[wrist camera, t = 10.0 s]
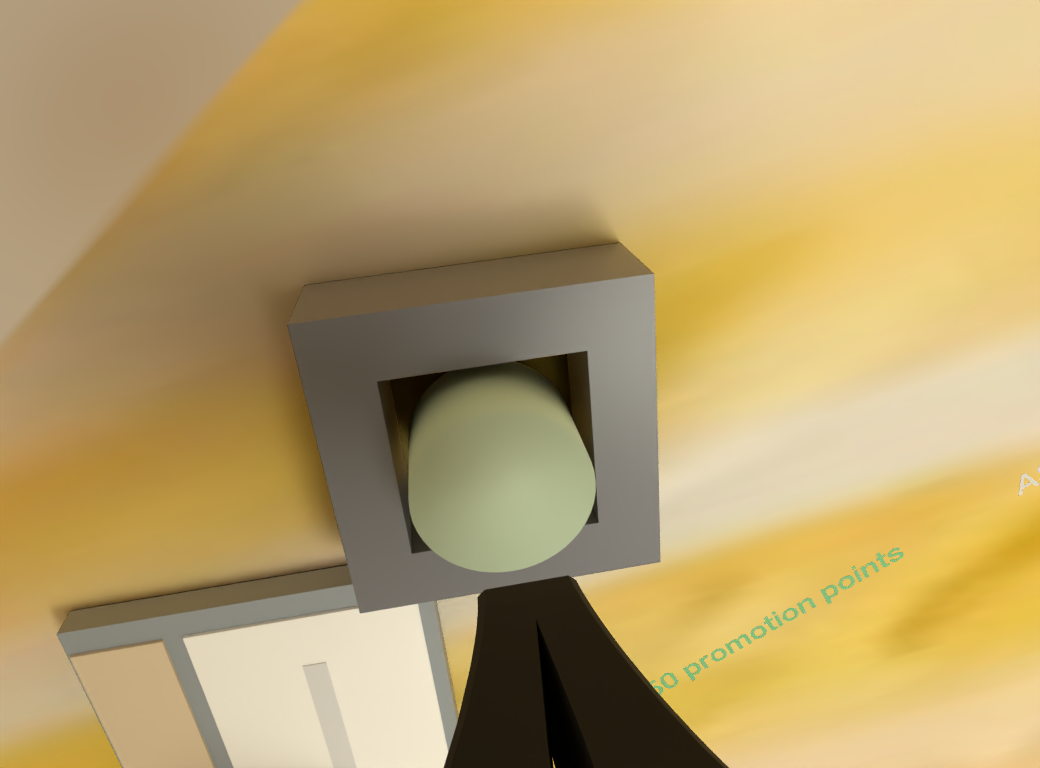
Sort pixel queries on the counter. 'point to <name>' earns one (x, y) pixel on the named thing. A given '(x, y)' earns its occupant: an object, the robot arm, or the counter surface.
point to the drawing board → (266, 677)
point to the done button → (497, 469)
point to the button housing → (472, 343)
